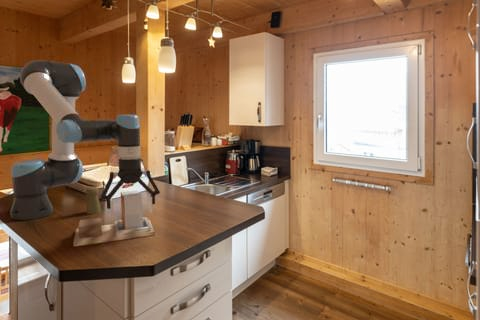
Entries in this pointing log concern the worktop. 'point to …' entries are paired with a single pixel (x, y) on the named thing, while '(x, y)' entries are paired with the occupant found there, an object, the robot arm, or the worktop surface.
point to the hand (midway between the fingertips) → (132, 214)
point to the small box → (131, 210)
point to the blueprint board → (108, 231)
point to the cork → (93, 201)
